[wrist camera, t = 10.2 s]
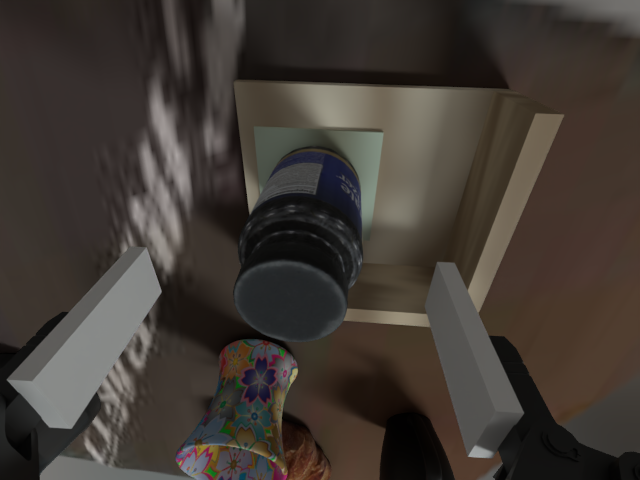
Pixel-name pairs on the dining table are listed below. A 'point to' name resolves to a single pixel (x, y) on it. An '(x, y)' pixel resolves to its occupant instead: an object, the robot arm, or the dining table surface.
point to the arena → (409, 175)
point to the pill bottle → (301, 247)
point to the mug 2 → (413, 450)
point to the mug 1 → (243, 416)
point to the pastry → (303, 454)
